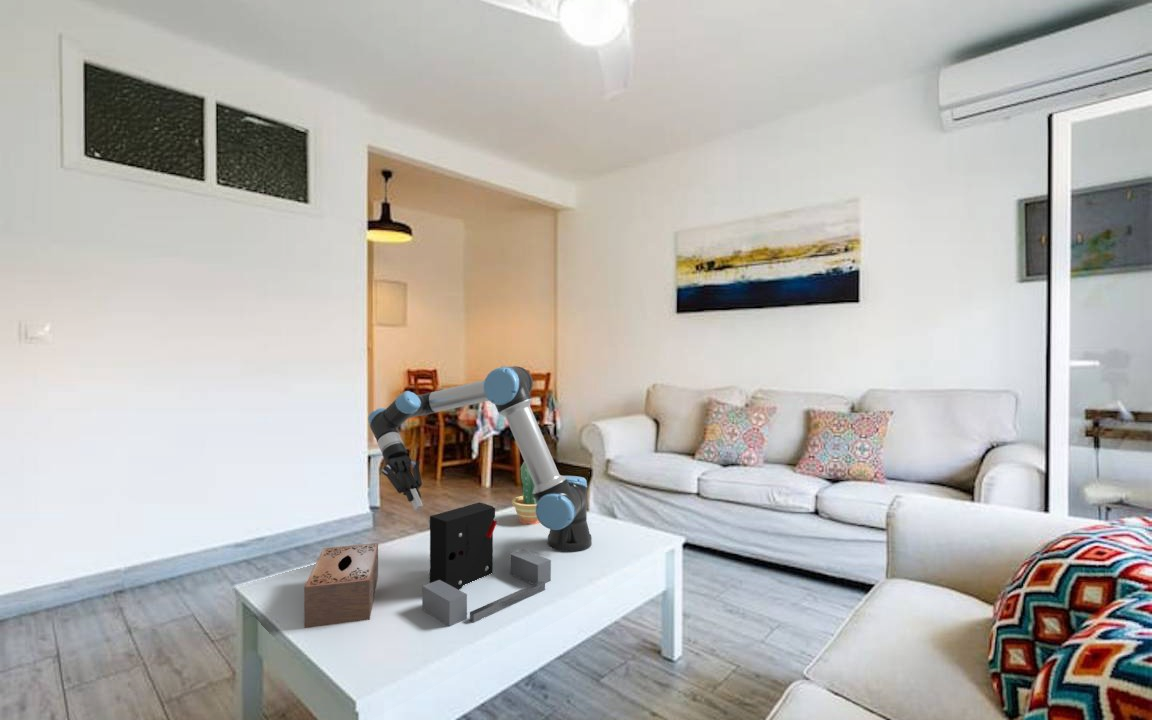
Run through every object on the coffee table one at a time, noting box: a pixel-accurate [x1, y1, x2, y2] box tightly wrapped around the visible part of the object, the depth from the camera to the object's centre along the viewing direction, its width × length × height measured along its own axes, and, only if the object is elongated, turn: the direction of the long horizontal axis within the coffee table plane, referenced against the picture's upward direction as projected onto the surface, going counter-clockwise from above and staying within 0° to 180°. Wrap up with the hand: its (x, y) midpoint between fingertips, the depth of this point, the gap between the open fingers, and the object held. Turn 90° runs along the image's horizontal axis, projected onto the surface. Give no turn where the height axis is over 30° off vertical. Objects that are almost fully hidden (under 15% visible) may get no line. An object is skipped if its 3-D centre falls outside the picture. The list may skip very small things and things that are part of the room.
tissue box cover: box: [303, 542, 379, 629], centre depth 137 cm, size 26×14×10 cm, turn 17°
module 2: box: [509, 548, 552, 585], centre depth 151 cm, size 5×12×6 cm, turn 48°
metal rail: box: [469, 581, 546, 623], centre depth 135 cm, size 24×2×2 cm, turn 138°
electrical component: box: [428, 502, 498, 590], centre depth 149 cm, size 18×10×20 cm, turn 141°
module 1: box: [421, 580, 468, 627], centre depth 130 cm, size 5×12×6 cm, turn 48°
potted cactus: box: [511, 461, 541, 525], centre depth 203 cm, size 15×15×25 cm
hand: (419, 508), depth 165 cm, fingers closed
